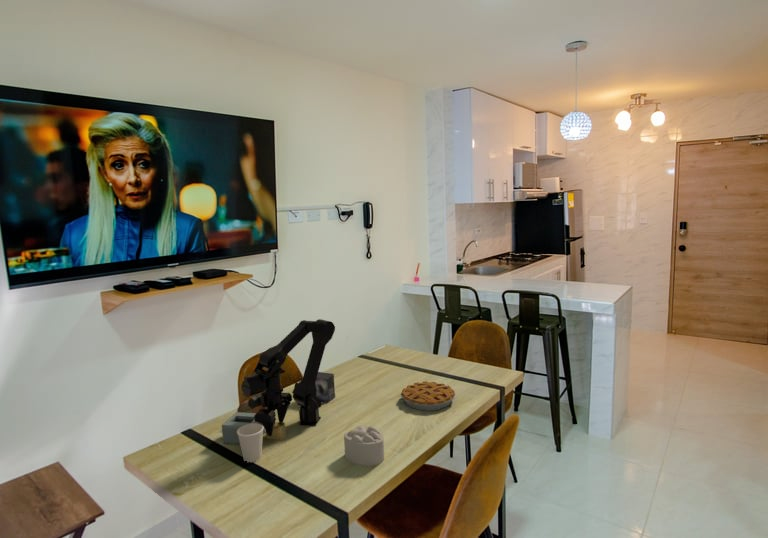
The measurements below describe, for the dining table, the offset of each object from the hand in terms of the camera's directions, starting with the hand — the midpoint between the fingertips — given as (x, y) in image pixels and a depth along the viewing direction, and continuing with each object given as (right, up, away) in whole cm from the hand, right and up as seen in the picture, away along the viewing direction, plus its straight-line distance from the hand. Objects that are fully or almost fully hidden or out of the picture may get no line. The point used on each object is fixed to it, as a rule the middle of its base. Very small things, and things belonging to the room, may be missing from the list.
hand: (275, 429), depth 168 cm
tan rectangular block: (0, -3, 0) cm, 3 cm away
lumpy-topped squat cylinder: (+33, -4, -15) cm, 36 cm away
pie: (+56, +3, +26) cm, 62 cm away
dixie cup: (-5, -5, -13) cm, 15 cm away
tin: (-11, -1, +16) cm, 19 cm away
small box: (+12, +2, +32) cm, 34 cm away
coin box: (-11, -3, +1) cm, 12 cm away
